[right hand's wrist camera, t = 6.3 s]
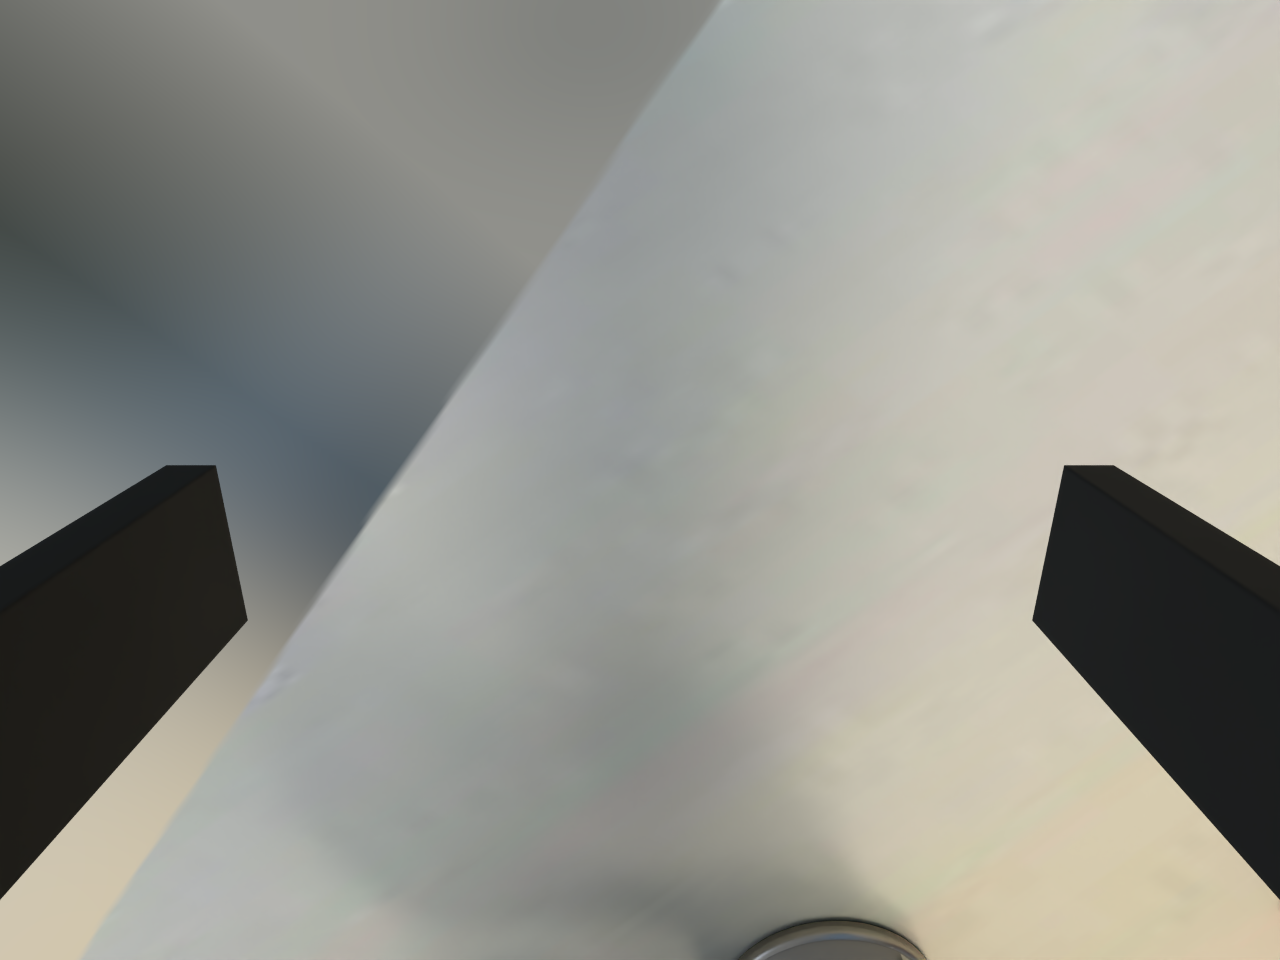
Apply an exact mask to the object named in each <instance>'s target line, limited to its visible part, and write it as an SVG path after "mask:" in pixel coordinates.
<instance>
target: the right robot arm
mask: <svg viewBox="0 0 1280 960" xmlns="http://www.w3.org/2000/svg"><path fill="white" fill-rule="evenodd" d="M247 620H248V619H247V615H246V610H245V605H244V600H243V595H242V590H241V585H240V581H239V576H238V571H237V566H236V561H235V556H234V552H233V547H232V542H231V537H230V532H229V527H228V522H227V518H226V513H225V508H224V503H223V498H222V493H221V488H220V484H219V479H218V474H217V469H216V466H215V465H166V466H165V467H163V468H161V469H160V470H158V471H156V472H155V473H153V474H151V475H150V476H148V477H146V478H145V479H143V480H141V481H140V482H138V483H137V484H135V485H133V486H132V487H130V488H128V489H127V490H125V491H123V492H122V493H120V494H118V495H117V496H115V497H113V498H112V499H110V500H109V501H107V502H105V503H104V504H102V505H100V506H99V507H97V508H95V509H94V510H92V511H90V512H89V513H87V514H85V515H84V516H82V517H81V518H79V519H77V520H76V521H74V522H72V523H71V524H69V525H67V526H66V527H64V528H62V529H61V530H59V531H57V532H56V533H54V534H53V535H51V536H49V537H48V538H46V539H44V540H43V541H41V542H39V543H38V544H36V545H34V546H33V547H31V548H30V549H28V550H26V551H25V552H23V553H21V554H20V555H18V556H16V557H15V558H13V559H11V560H10V561H8V562H6V563H5V564H3V565H2V566H0V899H1V898H2V897H3V896H4V895H5V894H6V893H7V891H8V890H9V889H10V888H11V887H12V886H13V885H14V884H15V882H16V881H17V880H18V879H19V878H20V877H21V876H22V874H23V873H24V872H25V871H26V870H27V869H28V868H29V867H30V865H31V864H32V863H33V862H34V861H35V860H36V859H37V858H38V856H39V855H40V854H41V853H42V852H43V851H44V850H45V849H46V847H47V846H48V845H49V844H50V843H51V842H52V841H53V840H54V838H55V837H56V836H57V835H58V834H59V833H60V832H61V830H62V829H63V828H64V827H65V826H66V825H67V824H68V823H69V821H70V820H71V819H72V818H73V817H74V816H75V815H76V814H77V812H78V811H79V810H80V809H81V808H82V807H83V806H84V804H85V803H86V802H87V801H88V800H89V799H90V798H91V797H92V795H93V794H94V793H95V792H96V791H97V790H98V789H99V787H100V786H101V785H102V784H103V783H104V782H105V781H106V780H107V779H108V777H109V776H110V775H111V774H112V773H113V772H114V771H115V770H116V768H117V767H118V766H119V765H120V764H121V763H122V762H123V760H124V759H125V758H126V757H127V756H128V755H129V754H130V753H131V751H132V750H133V749H134V748H135V747H136V746H137V745H138V744H139V742H140V741H141V740H142V739H143V738H144V737H145V736H146V735H147V733H148V732H149V731H150V730H151V729H152V728H153V727H154V725H155V724H156V723H157V722H158V721H159V720H160V719H161V718H162V716H163V715H164V714H165V713H166V712H167V711H168V710H169V709H170V707H171V706H172V705H173V704H174V703H175V702H176V701H177V700H178V698H179V697H180V696H181V695H182V694H183V693H184V692H185V691H186V689H187V688H188V687H189V686H190V685H191V684H192V683H193V681H194V680H195V679H196V678H197V677H198V676H199V675H200V674H201V672H202V671H203V670H204V669H205V668H206V667H207V666H208V665H209V663H210V662H211V661H212V660H213V659H214V658H215V657H216V656H217V654H218V653H219V652H220V651H221V650H222V649H223V648H224V647H225V645H226V644H227V643H228V642H229V641H230V640H231V639H232V637H233V636H234V635H235V634H236V633H237V632H238V631H239V630H240V628H241V627H242V626H243V625H244V624H245V623H246V622H247ZM1032 621H1033V622H1034V623H1035V624H1036V625H1037V626H1038V627H1039V628H1040V630H1041V631H1042V632H1043V633H1044V634H1045V635H1046V636H1047V637H1048V639H1049V640H1050V641H1051V642H1052V643H1053V644H1054V645H1055V647H1056V648H1057V649H1058V650H1059V651H1060V652H1061V653H1062V654H1063V656H1064V657H1065V658H1066V659H1067V660H1068V661H1069V662H1070V663H1071V665H1072V666H1073V667H1074V668H1075V669H1076V670H1077V671H1078V672H1079V674H1080V675H1081V676H1082V677H1083V678H1084V679H1085V680H1086V681H1087V683H1088V684H1089V685H1090V686H1091V687H1092V688H1093V689H1094V691H1095V692H1096V693H1097V694H1098V695H1099V696H1100V697H1101V698H1102V700H1103V701H1104V702H1105V703H1106V704H1107V705H1108V706H1109V707H1110V709H1111V710H1112V711H1113V712H1114V713H1115V714H1116V715H1117V716H1118V718H1119V719H1120V720H1121V721H1122V722H1123V723H1124V724H1125V726H1126V727H1127V728H1128V729H1129V730H1130V731H1131V732H1132V733H1133V735H1134V736H1135V737H1136V738H1137V739H1138V740H1139V741H1140V742H1141V744H1142V745H1143V746H1144V747H1145V748H1146V749H1147V750H1148V751H1149V753H1150V754H1151V755H1152V756H1153V757H1154V758H1155V759H1156V761H1157V762H1158V763H1159V764H1160V765H1161V766H1162V767H1163V768H1164V770H1165V771H1166V772H1167V773H1168V774H1169V775H1170V776H1171V777H1172V779H1173V780H1174V781H1175V782H1176V783H1177V784H1178V785H1179V786H1180V788H1181V789H1182V790H1183V791H1184V792H1185V793H1186V794H1187V795H1188V797H1189V798H1190V799H1191V800H1192V801H1193V802H1194V803H1195V805H1196V806H1197V807H1198V808H1199V809H1200V810H1201V811H1202V812H1203V814H1204V815H1205V816H1206V817H1207V818H1208V819H1209V820H1210V821H1211V823H1212V824H1213V825H1214V826H1215V827H1216V828H1217V829H1218V830H1219V832H1220V833H1221V834H1222V835H1223V836H1224V837H1225V838H1226V840H1227V841H1228V842H1229V843H1230V844H1231V845H1232V846H1233V847H1234V849H1235V850H1236V851H1237V852H1238V853H1239V854H1240V855H1241V856H1242V858H1243V859H1244V860H1245V861H1246V862H1247V863H1248V864H1249V865H1250V867H1251V868H1252V869H1253V870H1254V871H1255V872H1256V873H1257V875H1258V876H1259V877H1260V878H1261V879H1262V880H1263V881H1264V882H1265V884H1266V885H1267V886H1268V887H1269V888H1270V889H1271V890H1272V891H1273V893H1274V894H1275V895H1276V896H1277V897H1278V898H1279V899H1280V566H1278V565H1277V564H1275V563H1274V562H1272V561H1270V560H1269V559H1267V558H1265V557H1264V556H1262V555H1260V554H1259V553H1257V552H1255V551H1254V550H1252V549H1250V548H1249V547H1247V546H1246V545H1244V544H1242V543H1241V542H1239V541H1237V540H1236V539H1234V538H1232V537H1231V536H1229V535H1227V534H1226V533H1224V532H1223V531H1221V530H1219V529H1218V528H1216V527H1214V526H1213V525H1211V524H1209V523H1208V522H1206V521H1204V520H1203V519H1201V518H1199V517H1198V516H1196V515H1195V514H1193V513H1191V512H1190V511H1188V510H1186V509H1185V508H1183V507H1181V506H1180V505H1178V504H1176V503H1175V502H1173V501H1171V500H1170V499H1168V498H1167V497H1165V496H1163V495H1162V494H1160V493H1158V492H1157V491H1155V490H1153V489H1152V488H1150V487H1148V486H1147V485H1145V484H1144V483H1142V482H1140V481H1139V480H1137V479H1135V478H1134V477H1132V476H1130V475H1129V474H1127V473H1125V472H1124V471H1122V470H1120V469H1119V468H1117V467H1116V466H1114V465H1064V469H1063V474H1062V479H1061V484H1060V488H1059V493H1058V498H1057V503H1056V508H1055V513H1054V517H1053V522H1052V527H1051V532H1050V537H1049V542H1048V547H1047V551H1046V556H1045V561H1044V566H1043V571H1042V576H1041V581H1040V585H1039V590H1038V595H1037V600H1036V605H1035V610H1034V615H1033V619H1032ZM738 960H926V959H925V958H924V956H923V955H922V954H921V953H920V951H919V950H918V949H917V948H915V947H914V946H913V945H912V944H911V943H909V942H908V941H907V940H905V939H904V938H902V937H900V936H899V935H897V934H895V933H893V932H891V931H888V930H886V929H883V928H880V927H877V926H873V925H870V924H865V923H859V922H851V921H823V922H814V923H808V924H803V925H799V926H795V927H792V928H789V929H786V930H783V931H780V932H778V933H776V934H773V935H771V936H769V937H767V938H765V939H764V940H762V941H760V942H759V943H757V944H756V945H754V946H753V947H752V948H750V949H749V950H748V951H747V952H745V953H744V954H743V955H742V956H741V957H740V958H739V959H738Z"/></svg>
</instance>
